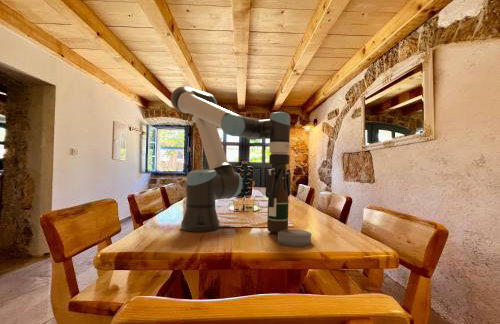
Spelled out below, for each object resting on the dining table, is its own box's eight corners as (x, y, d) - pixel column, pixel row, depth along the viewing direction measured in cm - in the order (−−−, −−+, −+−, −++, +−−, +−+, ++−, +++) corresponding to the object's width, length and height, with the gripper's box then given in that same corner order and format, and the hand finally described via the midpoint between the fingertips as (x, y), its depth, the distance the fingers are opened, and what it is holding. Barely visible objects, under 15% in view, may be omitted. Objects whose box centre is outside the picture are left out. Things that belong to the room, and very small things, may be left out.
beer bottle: (289, 233, 99) (290, 167, 99) (267, 233, 99) (269, 167, 99) (286, 228, 107) (288, 167, 107) (266, 228, 107) (268, 166, 107)
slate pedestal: (271, 242, 90) (271, 233, 90) (287, 236, 99) (287, 227, 99) (302, 249, 83) (302, 238, 83) (316, 241, 92) (316, 231, 92)
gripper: (274, 152, 92) (272, 219, 92) (300, 155, 109) (298, 212, 109) (255, 152, 97) (254, 217, 97) (283, 155, 114) (282, 209, 113)
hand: (277, 214), depth 103 cm, fingers closed on beer bottle, 8 cm apart
